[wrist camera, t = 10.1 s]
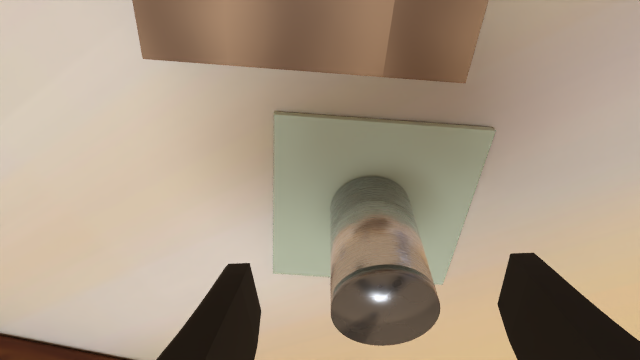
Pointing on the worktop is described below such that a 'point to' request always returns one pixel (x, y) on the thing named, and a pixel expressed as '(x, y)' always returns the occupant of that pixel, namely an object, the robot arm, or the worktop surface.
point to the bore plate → (317, 35)
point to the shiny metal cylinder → (378, 265)
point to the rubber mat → (370, 160)
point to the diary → (41, 351)
